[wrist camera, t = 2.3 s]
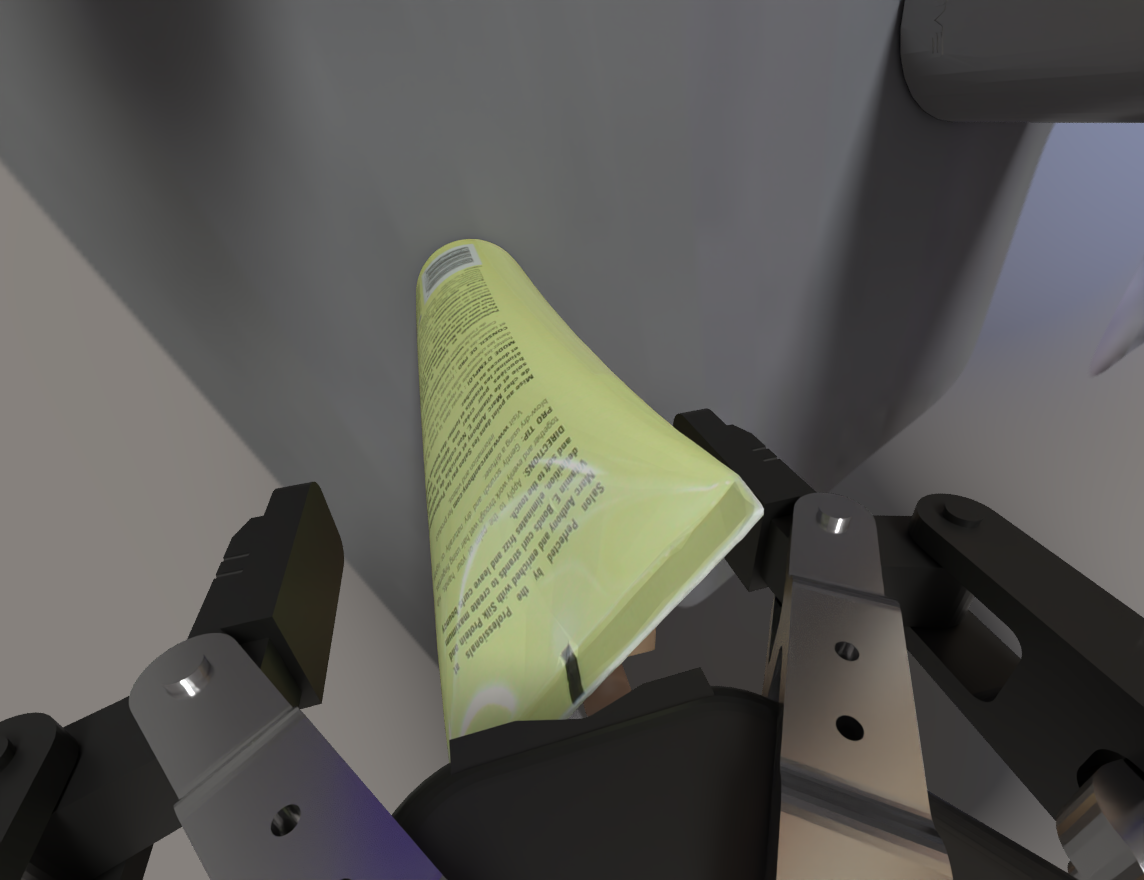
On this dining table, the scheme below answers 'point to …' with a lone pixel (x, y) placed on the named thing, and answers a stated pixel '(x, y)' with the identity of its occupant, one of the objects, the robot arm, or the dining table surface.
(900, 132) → the dining table surface
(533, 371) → the tube
